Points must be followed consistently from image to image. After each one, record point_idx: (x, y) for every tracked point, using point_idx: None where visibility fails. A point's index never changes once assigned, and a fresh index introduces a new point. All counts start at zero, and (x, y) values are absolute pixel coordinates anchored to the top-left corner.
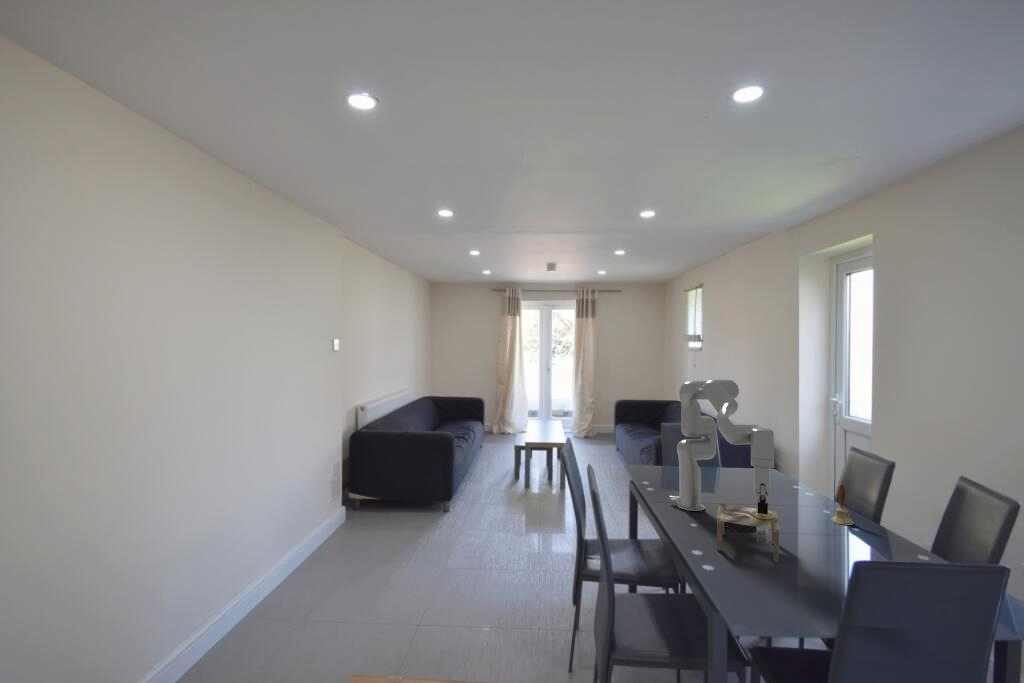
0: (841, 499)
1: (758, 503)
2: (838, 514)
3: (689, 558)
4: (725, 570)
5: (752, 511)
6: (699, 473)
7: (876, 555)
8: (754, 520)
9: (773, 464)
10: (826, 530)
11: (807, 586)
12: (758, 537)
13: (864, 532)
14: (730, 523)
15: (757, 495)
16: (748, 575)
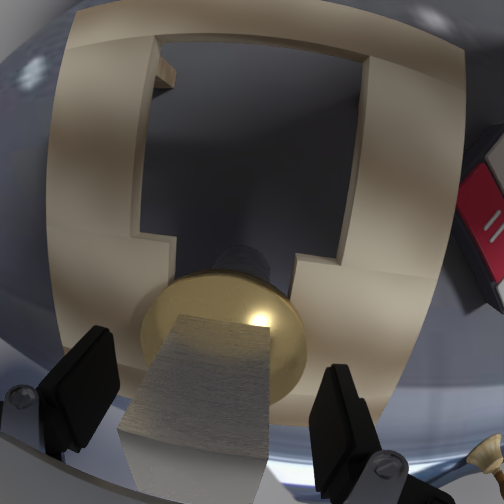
0: (501, 482)
1: (50, 382)
2: (489, 457)
3: (73, 13)
4: (24, 121)
5: (263, 290)
6: None
7: (310, 490)
8: (103, 269)
9: None
10: (451, 435)
11: (37, 324)
12: (219, 259)
13: (433, 476)
14: (468, 163)
15: (358, 447)
16: (19, 185)
